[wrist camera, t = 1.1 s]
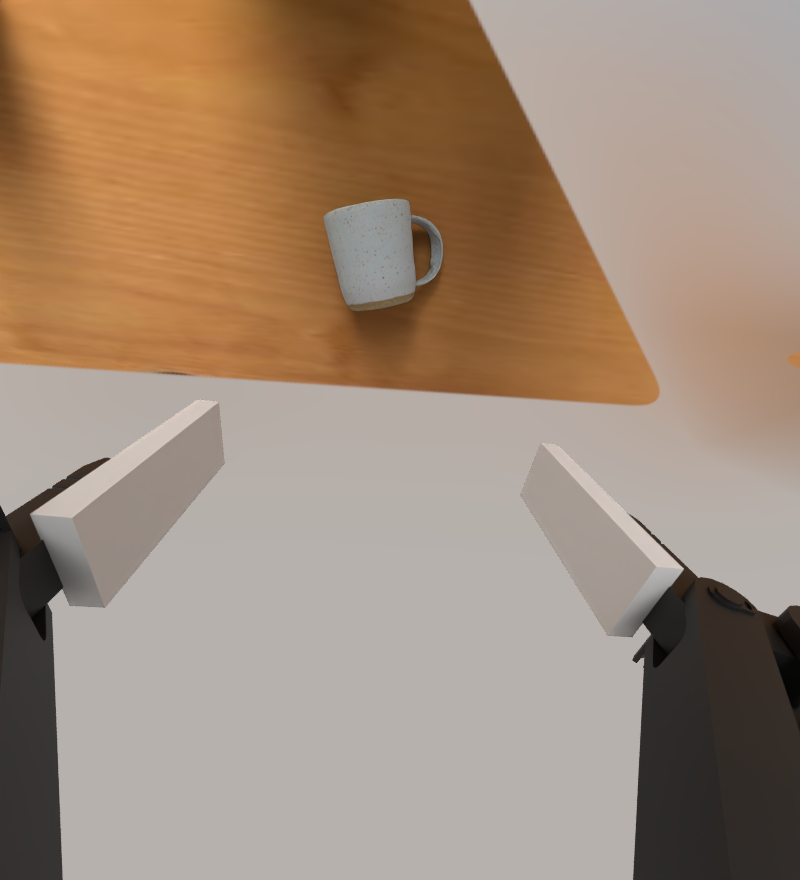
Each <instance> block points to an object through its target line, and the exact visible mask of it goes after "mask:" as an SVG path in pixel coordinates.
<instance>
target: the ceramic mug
mask: <svg viewBox="0 0 800 880" xmlns="http://www.w3.org/2000/svg"><path fill="white" fill-rule="evenodd" d="M323 220H324V224H325V228H326V232H327V236H328V240H329V244H330V248H331V252H332V256H333V260H334V264H335V268H336V271H337V276H338V280H339V285H340V288H341V292H342V295H343V297H344V300H345V303H346V304H347V306H348V307H349V308H350V309H352V310H354V311H367V310H374V309H381V308H386V307H391V306H395V305H399V304H402V303H406V302H408V301H410V300H411V299H412V298H413V296H414V295H415V288H416V286H420V285H423V284H425V283H428V282H429V281H431V280H432V279H433V278H434V277H435V276H436V274H437V273H438V271H439V269H440V267H441V263H442V258H443V243H442V238H441V235H440V233H439V231H438V229H437V228H436V227H435V226H434V225H433V223H431V222H430V221H429V220H427V219H425V218H422V217H420V216H415V215H411V211H410V205H409V201H407V200H404V199H385V200H376V201H370V202H364V203H359V204H355V205H351V206H346V207H341V208H338V209H335V210H333V211H331V212H328V213H327V214H326V215H325V216H324V219H323ZM411 223H415V224H417V225H419V226H422V227H423V228H424V229H425V230H426V231H427V232H428V234H429V238H430V240H431V260H430V265H431V267H430V270H429V271H428V273H427V274H426V275H425V276H424V277H423V278H421V279H420V280H417V281H416V274H415V264H414V256H413V240H412V228H411Z"/></svg>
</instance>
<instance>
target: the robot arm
mask: <svg viewBox="0 0 800 880" xmlns="http://www.w3.org/2000/svg"><path fill="white" fill-rule="evenodd" d="M223 465H224V454H223V442H222V433H221V421H220V410H219V403H218V402H214V401H206V400H196V401H195V402H193V403H192V404H190V405H189V406H187V407H186V408H184V409H183V410H182V411H180V412H179V413H177V414H176V415H174V416H173V417H171V418H170V419H168V420H167V421H165V422H164V423H162V424H161V425H159V426H158V427H157V428H155V429H154V430H152V431H151V432H149V433H148V434H146V435H145V436H143V437H142V438H140V439H139V440H138V441H136V442H135V443H133V444H132V445H130V446H129V447H127V448H126V449H124V450H123V451H121V452H120V453H119V454H117V455H116V456H114V457H113V458H103V459H101V460H98V461H96V462H93V463H90V464H88V465H85V466H83V467H81V468H80V469H78V470H77V471H75V472H74V473H72V474H71V475H69V476H67V478H66V479H63V480H61V481H60V482H58V483H56V484H55V485H53V487H52V489H47V490H46V491H44V492H43V493H41V494H39V495H38V496H36V497H35V498H33V499H32V500H31V501H29V502H27V503H25V504H24V505H23V506H21V507H19V508H18V509H16V510H15V511H13V512H12V513H10V514H8V515H7V516H5V514H4V512H3V510H2V508H1V506H0V880H63V879H62V855H61V854H62V853H61V829H60V804H59V778H58V753H57V728H56V706H55V678H54V653H53V629H52V612H51V610H50V608H49V606H48V604H47V603H48V602H49V601H50V600H51V599H52V598H53V597H54V596H55V595H56V594H57V593H58V592H59V591H60V590H61V589H63V591H64V594H65V596H66V598H67V601H68V603H69V605H70V606H86V607H87V606H88V607H104V608H105V607H106V606H107V605H108V603H109V602H110V601H111V600H112V598H113V597H114V596H115V595H116V594H117V593H118V591H119V590H120V589H121V588H122V587H123V585H124V584H125V583H126V582H127V580H128V579H129V578H130V577H131V576H132V574H133V573H134V572H135V571H136V570H137V568H138V567H139V566H140V565H141V564H142V562H143V561H144V560H145V559H146V557H147V556H148V555H149V554H150V552H152V550H153V549H154V548H155V547H156V546H157V544H158V543H159V542H160V541H161V540H162V538H163V537H164V536H165V535H166V533H167V532H168V531H169V530H170V529H171V527H172V526H173V525H174V524H175V523H176V521H177V520H178V519H179V518H180V517H181V515H182V514H183V513H184V512H185V511H186V509H187V508H188V507H189V506H190V505H191V503H192V502H193V501H194V500H195V499H196V497H197V496H198V495H199V493H200V492H201V491H202V490H203V489H204V488H205V486H206V485H207V484H208V483H209V481H210V480H211V479H212V478H213V477H214V476H215V474H216V473H217V472H218V471H219V470H220V468H221V467H222V466H223ZM521 497H522V499H523V500H524V502H525V503H526V505H527V507H528V508H529V510H530V511H531V513H532V515H533V516H534V518H535V519H536V521H537V523H538V524H539V526H540V528H541V529H542V531H543V532H544V534H545V536H546V537H547V539H548V540H549V542H550V544H551V545H552V547H553V548H554V550H555V552H556V553H557V555H558V557H559V558H560V560H561V561H562V563H563V565H564V566H565V567H566V569H567V571H568V573H569V574H570V576H571V578H572V579H573V581H574V582H575V584H576V586H577V587H578V589H579V590H580V592H581V594H582V595H583V597H584V598H585V600H586V602H587V603H588V605H589V606H590V608H591V610H592V611H593V613H594V615H595V616H596V618H597V619H598V621H599V623H600V624H601V626H602V627H603V629H604V631H605V632H606V634H607V635H608V636H621V637H633V635H634V634H635V633H636V631H637V630H638V629H639V627H640V626H641V625H642V623H643V624H644V625H645V626H646V628H647V629H648V630H649V631H650V633H651V635H650V637H649V638H648V639H647V640H646V642H645V643H644V644H643V645H642V647H641V648H640V649H639V650H638V652H637V653H636V654H635V655H634V658H633V661H634V662H636V663H637V662H638V661H639V660H640V658H644V666H643V668H644V677H643V698H642V717H641V736H640V737H641V738H640V757H639V776H638V796H637V816H636V835H635V855H634V874H633V880H800V606H789V607H788V608H787V609H786V610H785V611H784V612H783V613H782V614H781V615H780V616H779V617H776V616H773V615H770V614H767V613H763V612H760V611H757V609H756V608H755V607H754V606H753V605H752V604H751V603H750V602H749V601H748V600H747V599H746V598H745V597H744V596H742V595H741V594H739V593H738V592H737V591H735V590H734V589H732V588H730V587H728V586H727V585H725V584H723V583H720V582H718V581H715V580H713V579H709V578H703V577H701V578H698V577H697V576H696V575H695V574H694V573H693V572H692V571H691V570H690V569H689V568H688V567H686V566H685V565H684V563H682V562H681V561H680V560H679V559H678V558H677V557H676V556H675V555H674V554H673V553H672V552H671V551H670V550H669V549H668V548H667V547H666V546H665V545H664V544H661V541H660V540H659V539H658V538H657V537H656V536H655V535H653V534H651V532H650V531H649V530H648V529H647V528H646V527H645V526H644V525H643V524H642V523H641V522H640V521H638V520H637V519H636V518H634V517H633V516H631V515H630V514H628V513H627V512H625V511H624V510H623V509H622V508H621V507H620V506H619V505H618V504H617V503H616V502H615V501H614V500H613V499H612V498H611V497H610V496H609V495H608V494H607V493H606V492H605V491H604V490H603V489H602V488H601V487H600V486H599V485H598V484H597V483H596V482H595V481H594V480H593V479H592V478H591V477H590V476H589V475H588V474H587V473H586V472H585V471H584V470H583V469H582V468H581V467H580V466H579V465H578V464H577V463H576V462H575V461H573V460H572V459H571V458H570V457H569V456H568V455H567V454H566V453H565V452H564V451H563V450H562V449H561V448H560V447H559V446H558V445H554V444H547V443H541V444H540V446H539V449H538V452H537V454H536V456H535V459H534V461H533V464H532V466H531V469H530V471H529V474H528V477H527V479H526V482H525V484H524V487H523V489H522V492H521Z"/></svg>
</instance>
